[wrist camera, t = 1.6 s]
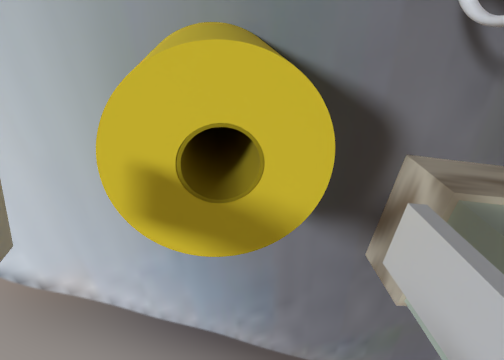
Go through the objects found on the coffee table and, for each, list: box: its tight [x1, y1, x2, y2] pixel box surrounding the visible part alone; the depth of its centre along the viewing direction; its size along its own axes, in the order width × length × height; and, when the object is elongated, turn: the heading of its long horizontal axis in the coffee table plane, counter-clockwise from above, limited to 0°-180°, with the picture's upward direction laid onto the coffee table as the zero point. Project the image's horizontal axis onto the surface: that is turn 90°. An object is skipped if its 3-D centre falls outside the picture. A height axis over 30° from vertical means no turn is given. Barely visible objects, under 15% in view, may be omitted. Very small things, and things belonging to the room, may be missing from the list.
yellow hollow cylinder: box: [96, 22, 335, 257], centre depth 19 cm, size 10×10×9 cm
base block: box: [365, 155, 504, 306], centre depth 27 cm, size 10×10×6 cm
